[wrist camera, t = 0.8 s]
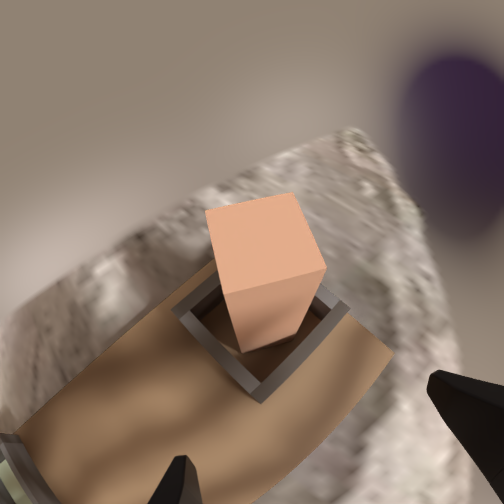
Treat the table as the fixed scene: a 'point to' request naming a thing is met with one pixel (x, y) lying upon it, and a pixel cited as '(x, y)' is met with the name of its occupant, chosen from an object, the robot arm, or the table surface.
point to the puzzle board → (193, 405)
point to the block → (265, 267)
